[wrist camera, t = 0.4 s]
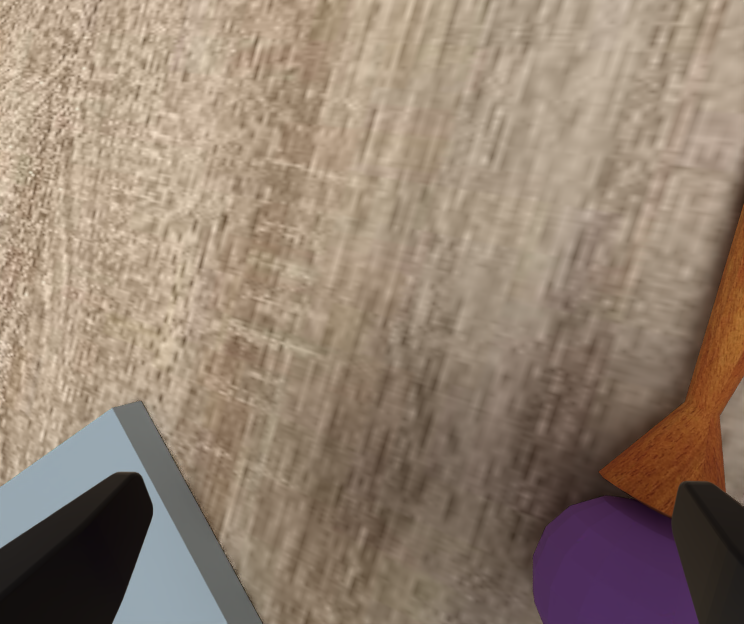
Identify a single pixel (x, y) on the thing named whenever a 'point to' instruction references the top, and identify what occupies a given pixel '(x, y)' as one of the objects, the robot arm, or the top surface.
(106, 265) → the top surface
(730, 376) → the kendama
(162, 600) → the seat board
